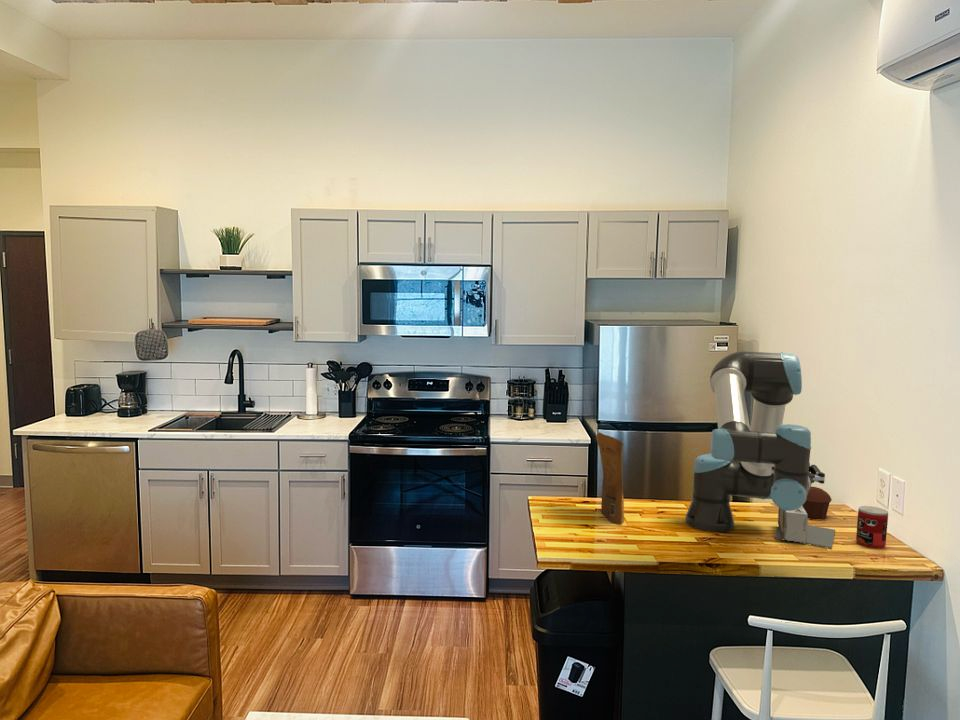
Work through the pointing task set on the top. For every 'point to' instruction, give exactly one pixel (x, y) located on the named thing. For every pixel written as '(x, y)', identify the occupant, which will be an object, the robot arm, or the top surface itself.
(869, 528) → the canned food
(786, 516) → the coffee box
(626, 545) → the top surface
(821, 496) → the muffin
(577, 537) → the top surface
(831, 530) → the mat
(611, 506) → the pancake mix bag
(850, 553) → the top surface
